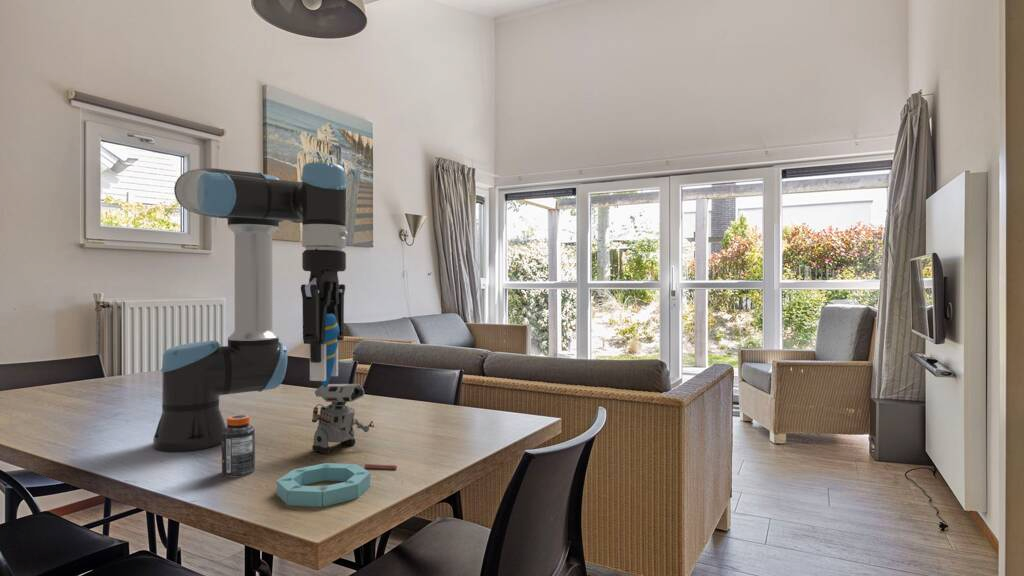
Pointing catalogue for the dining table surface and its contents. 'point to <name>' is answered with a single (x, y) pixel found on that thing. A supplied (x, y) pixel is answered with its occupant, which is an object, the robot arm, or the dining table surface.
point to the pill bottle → (238, 447)
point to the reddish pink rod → (380, 466)
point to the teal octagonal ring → (318, 496)
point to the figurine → (336, 416)
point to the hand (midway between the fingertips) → (324, 377)
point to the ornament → (330, 344)
